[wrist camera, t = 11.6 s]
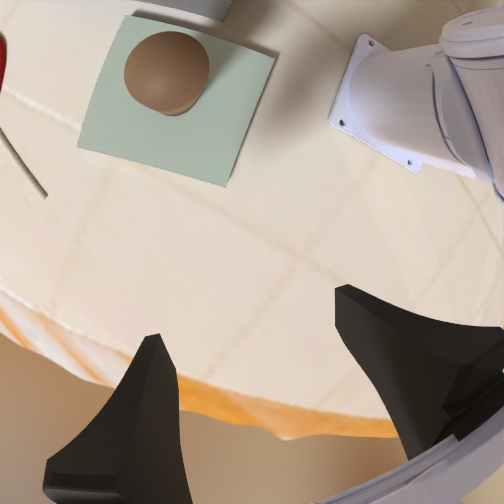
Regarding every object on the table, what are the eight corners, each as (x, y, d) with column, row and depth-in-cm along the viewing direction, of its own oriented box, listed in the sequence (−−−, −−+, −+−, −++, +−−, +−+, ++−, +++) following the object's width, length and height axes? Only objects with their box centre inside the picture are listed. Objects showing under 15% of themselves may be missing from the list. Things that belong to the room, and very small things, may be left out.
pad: (271, 61, 17) (275, 59, 16) (223, 185, 20) (225, 187, 19) (127, 19, 14) (125, 15, 13) (80, 146, 16) (76, 147, 16)
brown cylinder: (206, 78, 16) (222, 45, 9) (188, 122, 17) (190, 120, 10) (160, 63, 15) (144, 22, 8) (142, 108, 16) (111, 97, 9)
